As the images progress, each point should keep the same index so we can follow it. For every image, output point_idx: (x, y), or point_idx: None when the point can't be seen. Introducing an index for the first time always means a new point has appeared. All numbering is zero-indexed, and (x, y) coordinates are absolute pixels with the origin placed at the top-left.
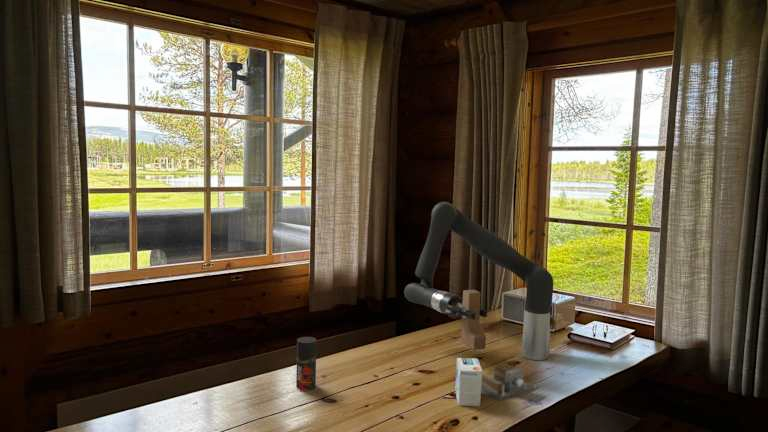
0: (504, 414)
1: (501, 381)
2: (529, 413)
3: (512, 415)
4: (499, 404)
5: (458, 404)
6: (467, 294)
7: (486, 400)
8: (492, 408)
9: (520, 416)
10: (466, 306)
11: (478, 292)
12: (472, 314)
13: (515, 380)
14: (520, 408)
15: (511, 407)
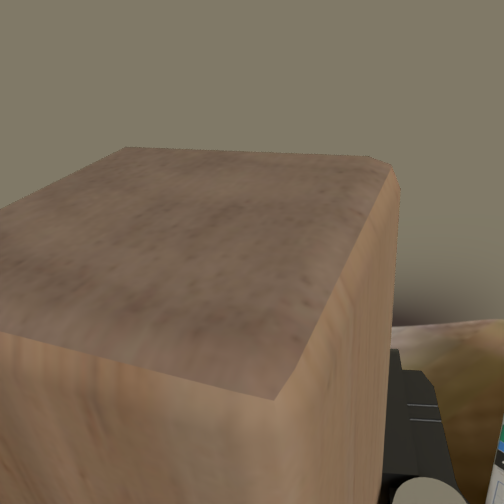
0: (482, 354)
1: None
2: (398, 329)
3: (460, 341)
4: (450, 399)
5: None
6: (388, 236)
7: (482, 442)
8: (499, 393)
9: (439, 330)
10: (370, 492)
11: (155, 148)
12: (409, 373)
13: None
14: (399, 354)
15: (423, 369)
